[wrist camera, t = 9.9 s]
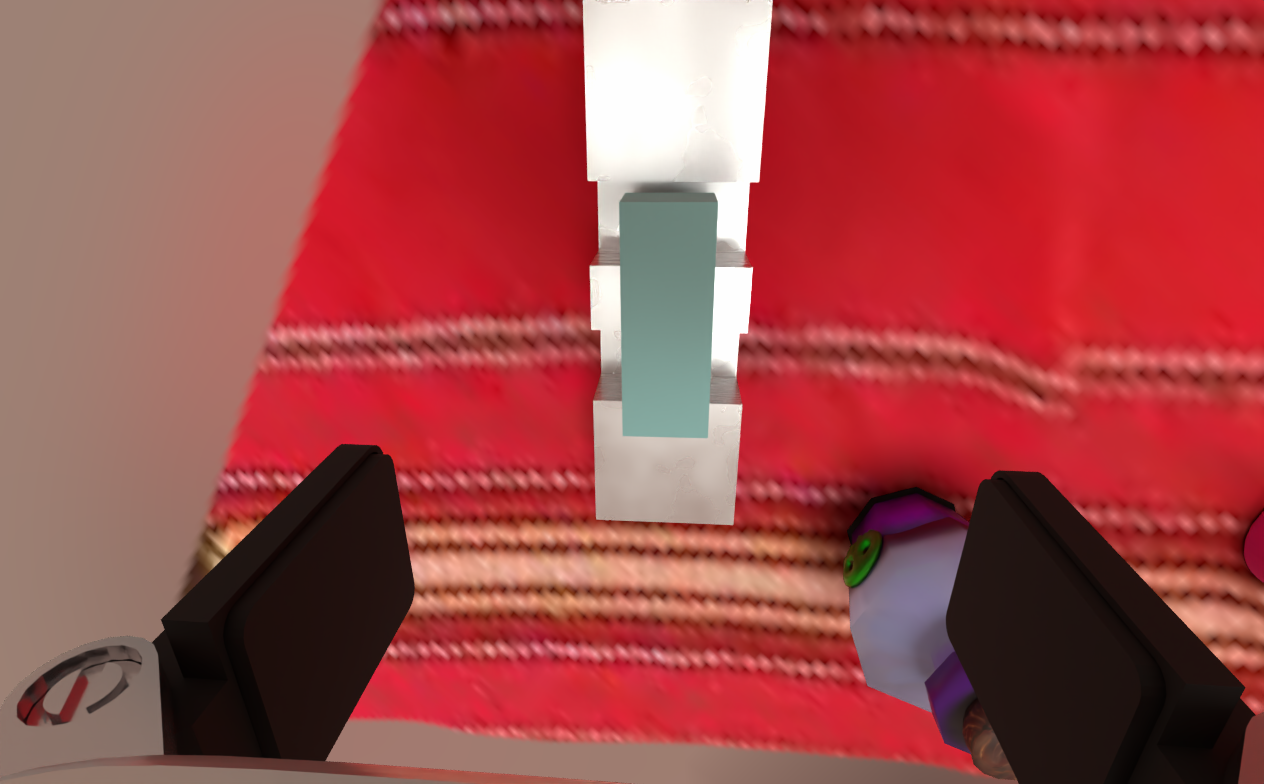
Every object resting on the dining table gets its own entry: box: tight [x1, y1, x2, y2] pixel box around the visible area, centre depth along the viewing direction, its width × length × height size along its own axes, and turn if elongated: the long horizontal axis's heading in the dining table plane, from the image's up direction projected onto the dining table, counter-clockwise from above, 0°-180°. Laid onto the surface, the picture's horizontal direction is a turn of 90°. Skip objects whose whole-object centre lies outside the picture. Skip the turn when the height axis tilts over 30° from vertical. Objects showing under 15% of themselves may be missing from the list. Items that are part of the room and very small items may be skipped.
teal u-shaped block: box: [619, 193, 718, 438], centre depth 24 cm, size 8×3×6 cm, turn 0°
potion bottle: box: [843, 487, 1017, 780], centre depth 27 cm, size 9×9×12 cm
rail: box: [583, 0, 773, 525], centre depth 26 cm, size 20×6×4 cm, turn 0°
